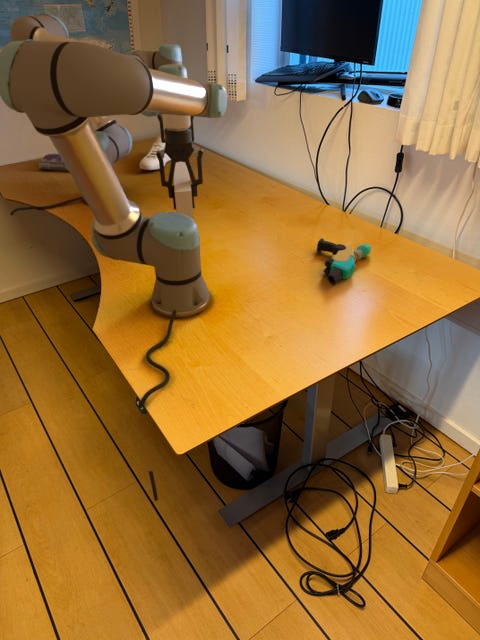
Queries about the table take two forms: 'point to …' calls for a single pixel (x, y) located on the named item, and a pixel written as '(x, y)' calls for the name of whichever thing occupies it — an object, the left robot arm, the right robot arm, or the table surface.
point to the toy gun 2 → (341, 259)
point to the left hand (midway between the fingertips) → (179, 160)
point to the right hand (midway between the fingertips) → (184, 206)
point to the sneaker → (154, 156)
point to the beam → (183, 190)
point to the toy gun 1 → (52, 163)
